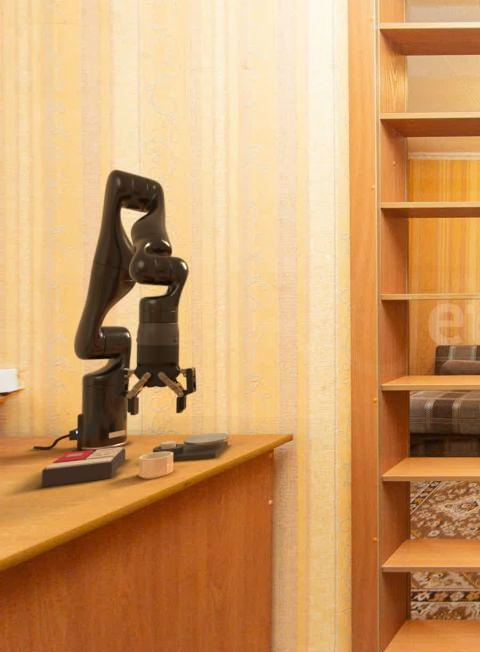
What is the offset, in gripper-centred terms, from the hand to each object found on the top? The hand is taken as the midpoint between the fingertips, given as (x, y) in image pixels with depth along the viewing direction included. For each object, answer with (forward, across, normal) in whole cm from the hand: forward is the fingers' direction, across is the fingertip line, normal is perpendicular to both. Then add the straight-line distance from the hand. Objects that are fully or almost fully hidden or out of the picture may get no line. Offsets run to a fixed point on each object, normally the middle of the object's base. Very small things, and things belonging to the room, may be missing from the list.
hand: (157, 413), depth 99 cm
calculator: (+14, +15, -6) cm, 22 cm away
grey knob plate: (+14, -2, -16) cm, 21 cm away
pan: (+11, -5, -18) cm, 22 cm away
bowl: (+14, 0, 0) cm, 14 cm away
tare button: (+11, +2, -13) cm, 17 cm away
